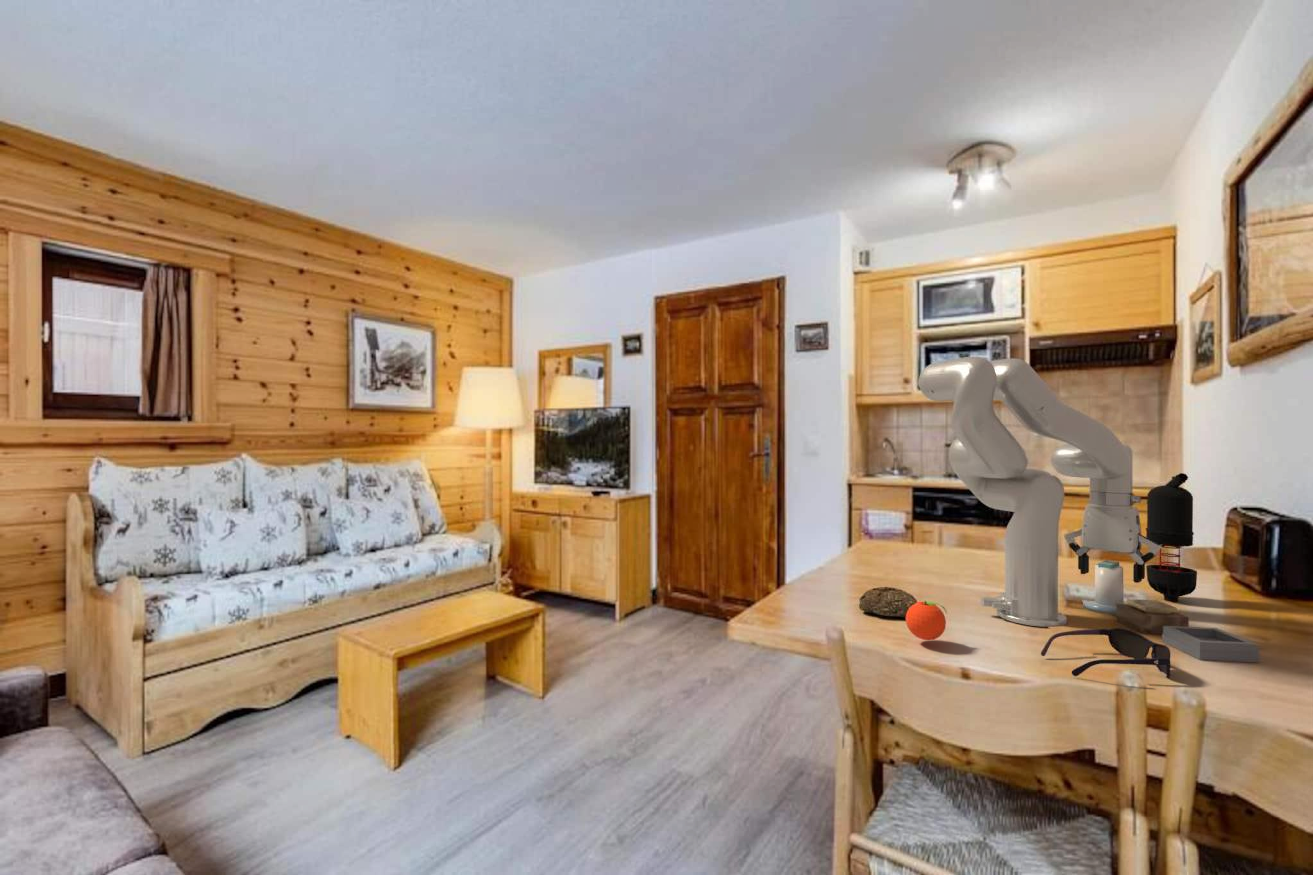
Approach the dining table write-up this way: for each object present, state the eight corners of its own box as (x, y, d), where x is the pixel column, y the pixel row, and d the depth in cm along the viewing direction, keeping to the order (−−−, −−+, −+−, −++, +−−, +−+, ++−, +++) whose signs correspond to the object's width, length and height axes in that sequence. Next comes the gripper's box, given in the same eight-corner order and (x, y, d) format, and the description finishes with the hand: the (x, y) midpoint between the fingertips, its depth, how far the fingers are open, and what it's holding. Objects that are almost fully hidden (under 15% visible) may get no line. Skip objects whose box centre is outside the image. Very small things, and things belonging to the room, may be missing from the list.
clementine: (935, 631, 116) (935, 595, 116) (959, 644, 109) (959, 605, 109) (898, 634, 115) (898, 597, 115) (920, 646, 108) (920, 607, 108)
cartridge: (1118, 607, 128) (1118, 566, 128) (1091, 602, 132) (1091, 562, 132) (1127, 603, 131) (1126, 563, 131) (1100, 599, 135) (1099, 559, 135)
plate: (1099, 614, 127) (1099, 609, 127) (1073, 601, 137) (1073, 596, 137) (1150, 616, 126) (1150, 611, 126) (1120, 603, 136) (1120, 598, 136)
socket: (1199, 659, 101) (1199, 642, 101) (1162, 641, 110) (1162, 625, 110) (1258, 662, 100) (1259, 644, 100) (1216, 643, 109) (1216, 627, 109)
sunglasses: (1188, 684, 92) (1188, 652, 92) (1085, 683, 93) (1085, 651, 93) (1121, 652, 106) (1121, 624, 106) (1032, 651, 106) (1032, 623, 106)
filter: (1210, 609, 131) (1210, 473, 131) (1161, 606, 133) (1161, 473, 133) (1173, 593, 144) (1173, 470, 144) (1129, 591, 146) (1129, 469, 146)
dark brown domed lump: (911, 603, 137) (911, 581, 137) (926, 619, 125) (926, 595, 125) (853, 600, 139) (853, 579, 139) (862, 615, 127) (862, 592, 127)
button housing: (1142, 633, 115) (1142, 615, 115) (1116, 620, 123) (1116, 603, 123) (1188, 635, 114) (1188, 617, 114) (1159, 622, 122) (1159, 605, 122)
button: (1145, 623, 116) (1145, 606, 116) (1126, 615, 121) (1126, 599, 121) (1177, 625, 115) (1177, 608, 115) (1156, 616, 121) (1156, 600, 121)
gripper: (1165, 502, 127) (1165, 582, 127) (1071, 495, 140) (1071, 568, 140) (1155, 504, 122) (1155, 588, 122) (1059, 497, 136) (1059, 572, 136)
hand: (1110, 577), depth 131 cm, fingers open, 9 cm apart
